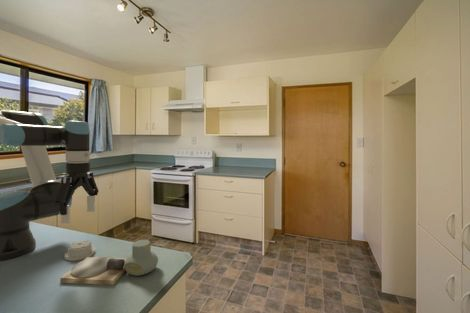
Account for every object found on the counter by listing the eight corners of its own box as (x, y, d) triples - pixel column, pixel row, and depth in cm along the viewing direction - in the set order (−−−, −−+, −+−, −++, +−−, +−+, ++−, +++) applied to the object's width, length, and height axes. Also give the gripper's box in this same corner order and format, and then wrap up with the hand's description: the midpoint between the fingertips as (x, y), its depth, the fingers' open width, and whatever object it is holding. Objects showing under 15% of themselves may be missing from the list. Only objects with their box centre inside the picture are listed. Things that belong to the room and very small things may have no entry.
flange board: (60, 282, 72) (59, 268, 72) (87, 260, 85) (87, 248, 85) (113, 285, 72) (113, 270, 72) (132, 262, 85) (132, 250, 84)
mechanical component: (57, 259, 86) (80, 263, 84) (57, 248, 86) (80, 251, 84) (80, 247, 96) (101, 250, 94) (80, 237, 95) (100, 240, 93)
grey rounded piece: (119, 274, 77) (119, 246, 77) (135, 262, 86) (135, 236, 85) (148, 280, 75) (148, 250, 74) (161, 266, 83) (162, 240, 82)
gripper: (61, 165, 74) (63, 229, 76) (107, 159, 99) (107, 207, 101) (39, 165, 75) (41, 228, 76) (90, 159, 99) (91, 207, 101)
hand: (79, 216), depth 88 cm, fingers open, 13 cm apart
